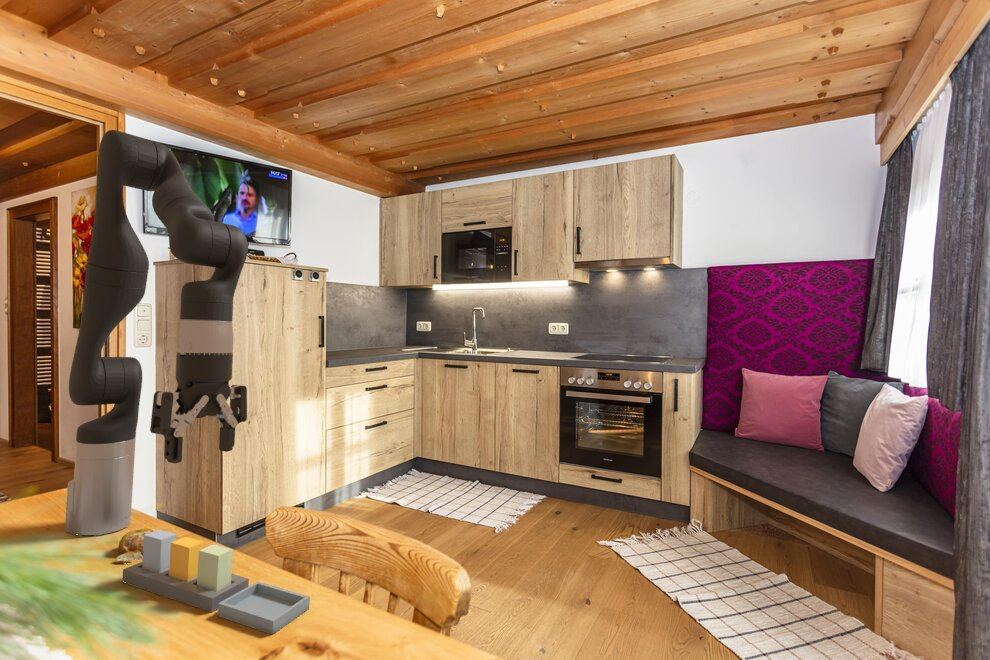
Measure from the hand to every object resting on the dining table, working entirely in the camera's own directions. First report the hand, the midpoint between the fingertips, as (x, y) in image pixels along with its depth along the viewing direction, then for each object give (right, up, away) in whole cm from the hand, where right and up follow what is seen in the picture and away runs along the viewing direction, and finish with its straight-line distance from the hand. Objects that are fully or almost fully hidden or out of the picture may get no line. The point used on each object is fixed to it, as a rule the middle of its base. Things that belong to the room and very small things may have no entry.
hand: (201, 456), depth 77 cm
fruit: (-18, -21, +11) cm, 29 cm away
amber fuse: (-3, -21, +1) cm, 21 cm away
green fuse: (+2, -21, -1) cm, 21 cm away
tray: (+12, -21, -4) cm, 25 cm away
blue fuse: (-9, -20, +3) cm, 22 cm away
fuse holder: (-3, -21, +1) cm, 21 cm away
